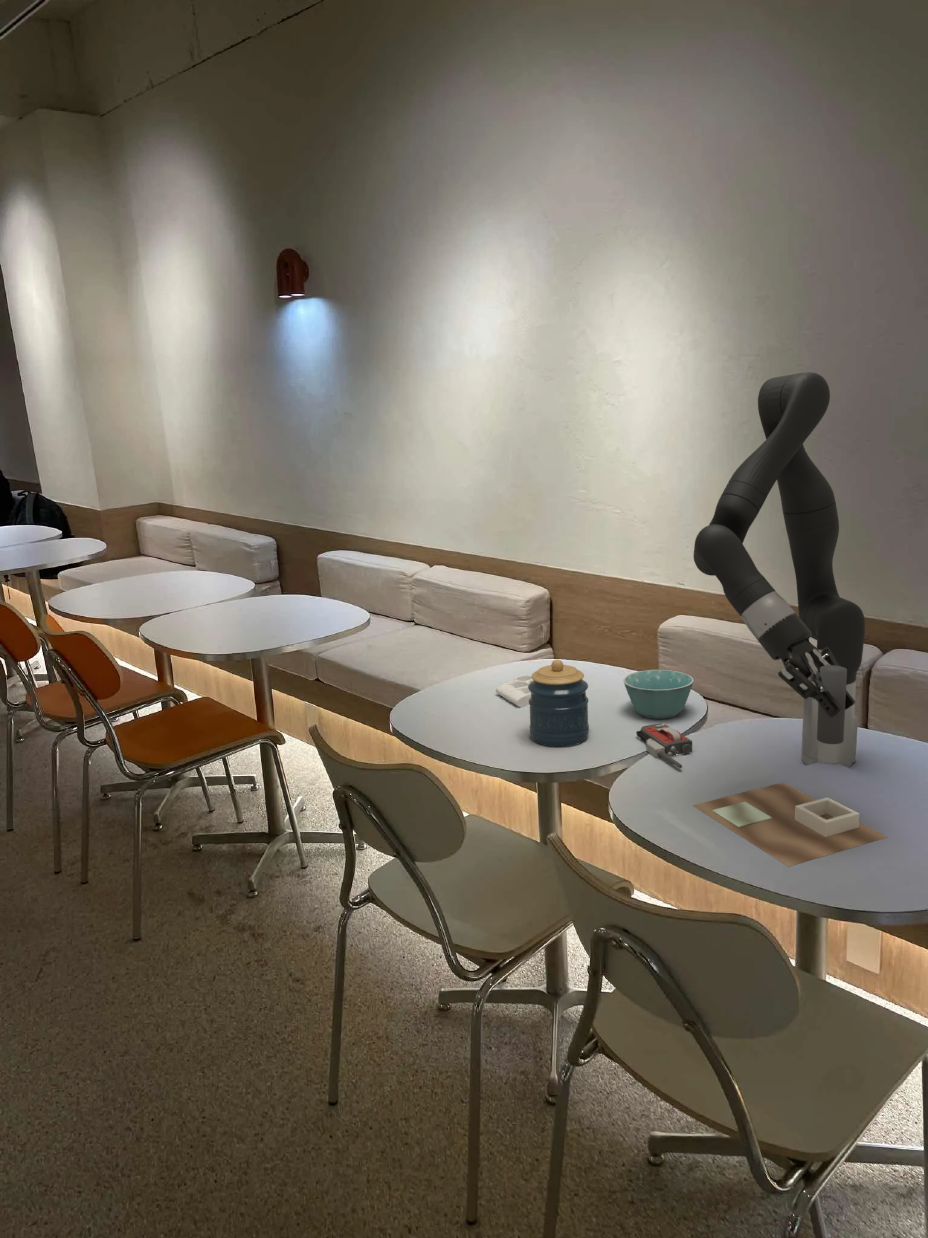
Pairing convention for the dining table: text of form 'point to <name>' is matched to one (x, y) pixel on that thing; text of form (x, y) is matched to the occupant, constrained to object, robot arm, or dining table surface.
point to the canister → (558, 706)
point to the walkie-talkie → (664, 742)
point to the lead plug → (835, 684)
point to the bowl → (658, 692)
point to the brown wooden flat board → (781, 824)
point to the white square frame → (840, 823)
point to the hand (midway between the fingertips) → (843, 709)
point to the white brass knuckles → (516, 690)
